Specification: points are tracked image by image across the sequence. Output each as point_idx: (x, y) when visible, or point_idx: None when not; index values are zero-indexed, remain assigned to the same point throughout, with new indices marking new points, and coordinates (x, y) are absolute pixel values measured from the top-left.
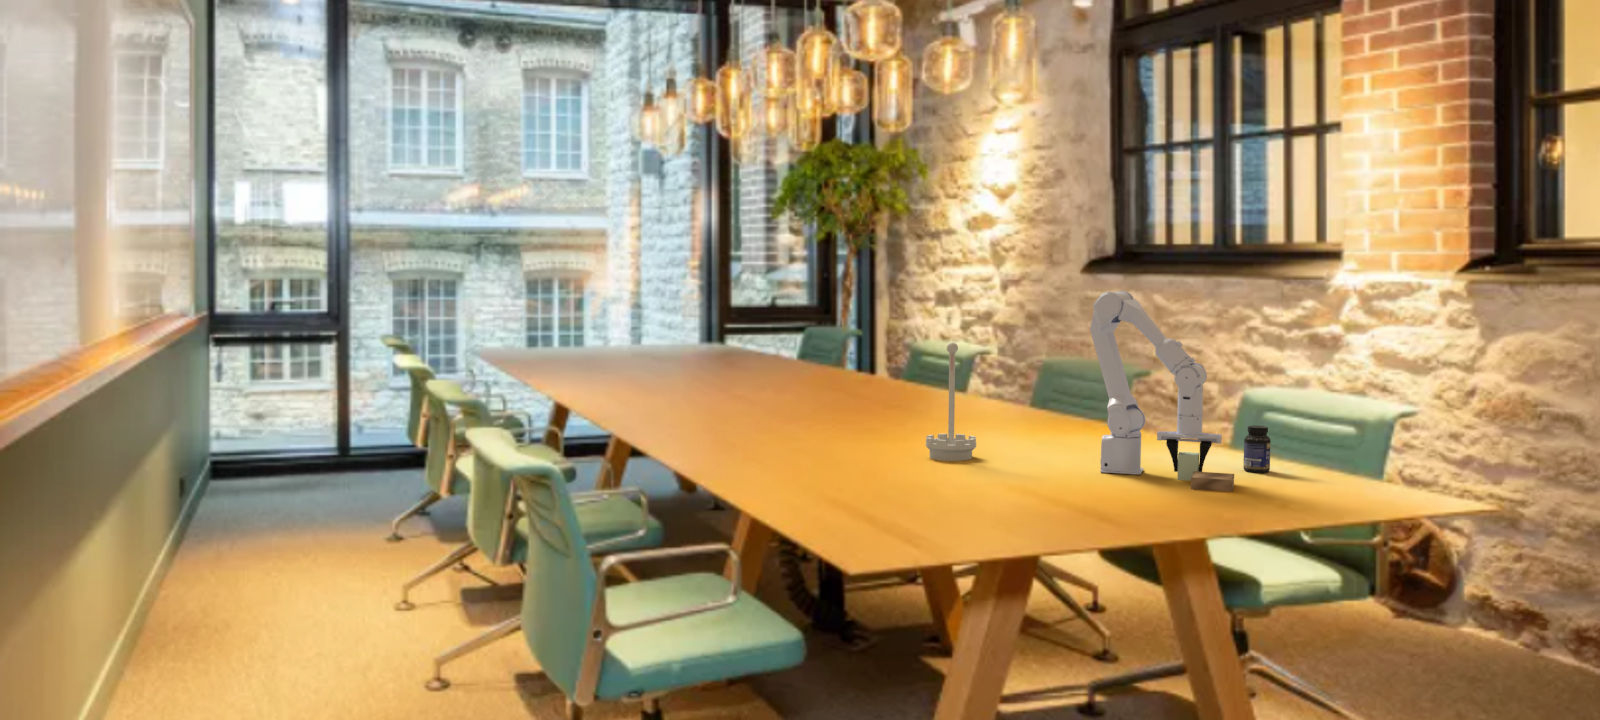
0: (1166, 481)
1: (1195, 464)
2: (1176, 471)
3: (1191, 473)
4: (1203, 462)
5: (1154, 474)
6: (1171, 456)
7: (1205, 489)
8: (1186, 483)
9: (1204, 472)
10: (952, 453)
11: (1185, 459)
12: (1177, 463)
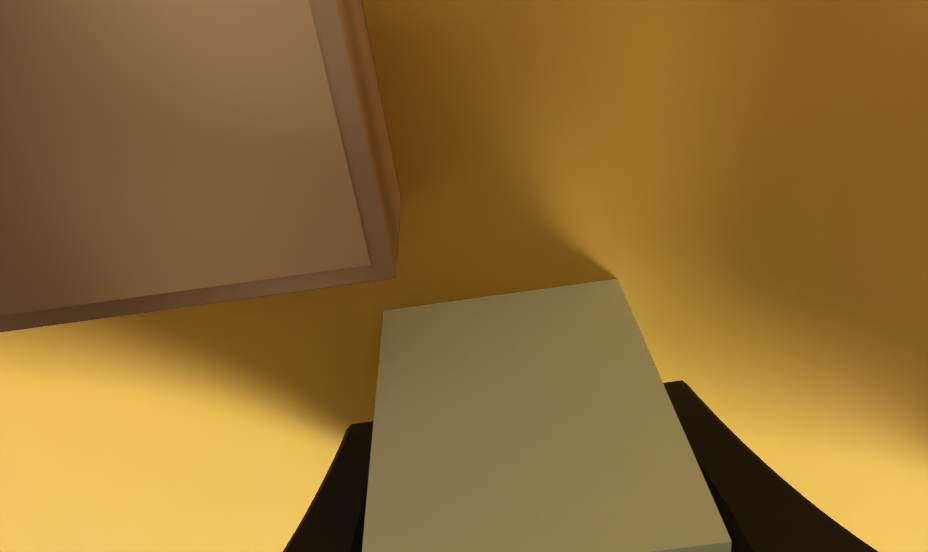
0: (747, 89)
1: (404, 455)
2: None
3: (456, 355)
4: (295, 532)
5: (873, 441)
6: (830, 519)
7: None
8: (464, 71)
9: (204, 241)
10: None
11: (574, 491)
12: None
